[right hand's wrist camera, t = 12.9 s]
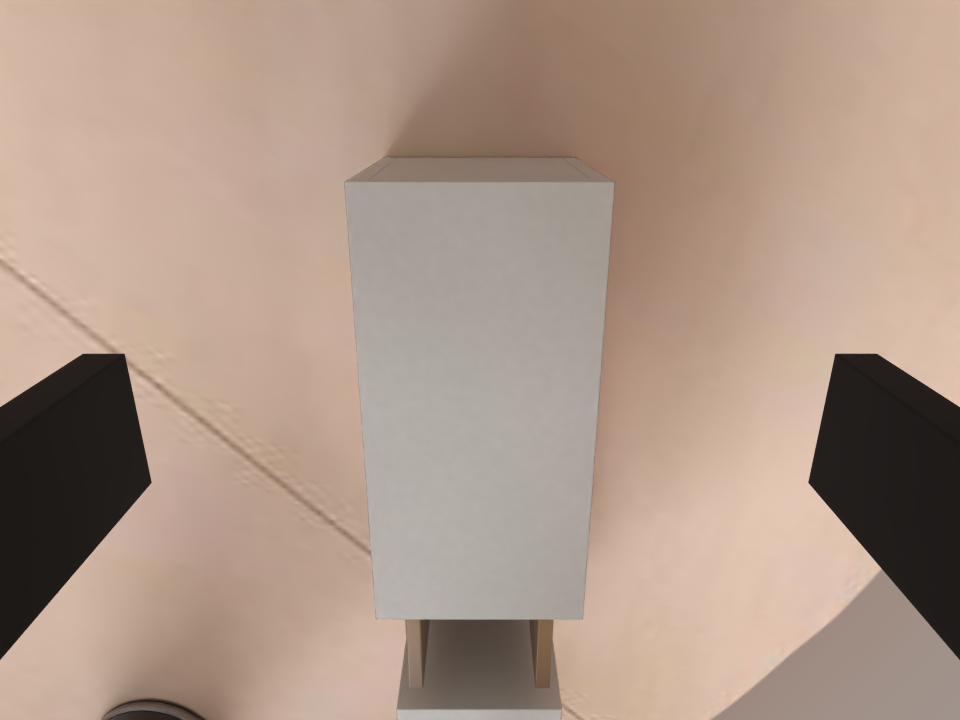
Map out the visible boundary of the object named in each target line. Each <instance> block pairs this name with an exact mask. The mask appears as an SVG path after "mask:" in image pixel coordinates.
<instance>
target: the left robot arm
mask: <svg viewBox="0 0 960 720" xmlns="http://www.w3.org/2000/svg"><path fill="white" fill-rule="evenodd" d="M102 720H200V719H199V718H198V717H196V716H195V715H193V714H192V713H190V712H188V711H186V710H184V709H181V708H179V707H176V706H173V705H169V704H165V703H160V702H134V703H129V704H125V705H122V706H120V707H117V708H115V709H113V710H112V711H110V712H109V713H107V714H106V715H105V716H104V717H103V719H102Z"/></svg>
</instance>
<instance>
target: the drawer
mask: <svg viewBox="0 0 960 720" xmlns="http://www.w3.org/2000/svg"><path fill="white" fill-rule="evenodd" d="M405 620H406V645H405V652H404V659H403V666H402V674H401V681H400V688H399V696H398V703H397V720H561V719H562V705H561V698H560V690H559V683H558V675H557V668H556V660H555V653H554V645H553V638H552V637H553V620H504V619H405Z"/></svg>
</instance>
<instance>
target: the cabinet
mask: <svg viewBox="0 0 960 720" xmlns="http://www.w3.org/2000/svg"><path fill="white" fill-rule="evenodd" d="M344 184H345V198H346V212H347V226H348V239H349V253H350V267H351V281H352V295H353V309H354V323H355V336H356V350H357V364H358V378H359V392H360V406H361V420H362V433H363V447H364V461H365V475H366V489H367V503H368V516H369V530H370V544H371V558H372V572H373V586H374V600H375V613H376V619H504V620H582V619H583V611H584V597H585V584H586V570H587V556H588V543H589V529H590V515H591V502H592V488H593V475H594V461H595V447H596V434H597V420H598V406H599V393H600V379H601V365H602V352H603V338H604V325H605V311H606V297H607V284H608V270H609V256H610V243H611V229H612V215H613V202H614V188H615V182H614V181H612V180H611V179H609V178H607V177H605V176H604V175H602V174H601V173H599V172H598V171H596V170H594V169H593V168H591V167H590V166H588V165H586V164H585V163H583V162H582V161H580V160H579V159H577V158H516V157H384V158H382V159H381V160H379V161H378V162H376V163H374V164H373V165H371V166H370V167H368V168H366V169H365V170H363V171H362V172H360V173H358V174H357V175H355V176H354V177H352V178H350V179H348V180H347V181H345V182H344Z"/></svg>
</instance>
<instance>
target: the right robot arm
mask: <svg viewBox="0 0 960 720" xmlns="http://www.w3.org/2000/svg"><path fill="white" fill-rule="evenodd" d="M151 483H152V482H151V477H150V473H149V468H148V463H147V458H146V454H145V449H144V444H143V439H142V434H141V430H140V425H139V420H138V415H137V411H136V406H135V401H134V396H133V392H132V387H131V382H130V377H129V372H128V368H127V363H126V358H125V354H82V355H80V356H79V357H77V358H76V359H74V360H73V361H71V362H70V363H68V364H67V365H65V366H63V367H62V368H60V369H59V370H57V371H56V372H54V373H53V374H51V375H49V376H48V377H46V378H45V379H43V380H42V381H40V382H39V383H37V384H35V385H34V386H32V387H31V388H29V389H28V390H26V391H25V392H23V393H21V394H20V395H18V396H17V397H15V398H14V399H12V400H11V401H9V402H8V403H6V404H4V405H3V406H1V407H0V660H1V658H2V657H3V656H4V655H5V654H6V653H7V651H8V650H9V649H10V648H11V647H12V645H13V644H14V643H15V642H16V641H17V640H18V638H19V637H20V636H21V635H22V634H23V633H24V631H25V630H26V629H27V628H28V627H29V626H30V624H31V623H32V622H33V621H34V620H35V619H36V617H37V616H38V615H39V614H40V613H41V612H42V610H43V609H44V608H45V607H46V606H47V605H48V603H49V602H50V601H51V600H52V599H53V598H54V596H55V595H56V594H57V593H58V592H59V590H60V589H61V588H62V587H63V586H64V585H65V583H66V582H67V581H68V580H69V579H70V578H71V576H72V575H73V574H74V573H75V572H76V571H77V569H78V568H79V567H80V566H81V565H82V564H83V562H84V561H85V560H86V559H87V558H88V557H89V555H90V554H91V553H92V552H93V551H94V550H95V548H96V547H97V546H98V545H99V544H100V542H101V541H102V540H103V539H104V538H105V537H106V535H107V534H108V533H109V532H110V531H111V530H112V528H113V527H114V526H115V525H116V524H117V523H118V521H119V520H120V519H121V518H122V517H123V516H124V514H125V513H126V512H127V511H128V510H129V509H130V507H131V506H132V505H133V504H134V503H135V502H136V500H137V499H138V498H139V497H140V496H141V494H142V493H143V492H144V491H145V490H146V489H147V487H148V486H149V485H150V484H151ZM808 483H809V484H810V485H811V486H812V487H813V489H814V490H815V491H816V492H817V493H818V494H819V496H820V497H821V498H822V499H823V500H824V502H825V503H826V504H827V505H828V506H829V507H830V509H831V510H832V511H833V512H834V513H835V514H836V516H837V517H838V518H839V519H840V520H841V521H842V523H843V524H844V525H845V526H846V527H847V528H848V530H849V531H850V532H851V533H852V534H853V535H854V537H855V538H856V539H857V540H858V541H859V542H860V544H861V545H862V546H863V547H864V548H865V550H866V551H867V552H868V553H869V554H870V555H871V557H872V558H873V559H874V560H875V561H876V562H877V564H878V565H879V566H880V567H881V568H882V569H883V571H884V572H885V573H886V574H887V575H888V576H889V578H890V579H891V580H892V581H893V582H894V583H895V585H896V586H897V587H898V588H899V589H900V590H901V592H902V593H903V594H904V595H905V596H906V597H907V599H908V600H909V601H910V602H911V603H912V605H913V606H914V607H915V608H916V609H917V610H918V612H919V613H920V614H921V615H922V616H923V617H924V619H925V620H926V621H927V622H928V623H929V624H930V626H931V627H932V628H933V629H934V630H935V631H936V633H937V634H938V635H939V636H940V637H941V638H942V640H943V641H944V642H945V643H946V644H947V645H948V647H949V648H950V649H951V650H952V651H953V653H954V654H955V655H956V656H957V657H958V658H959V660H960V407H959V406H957V405H956V404H954V403H952V402H951V401H949V400H948V399H946V398H945V397H943V396H942V395H940V394H939V393H937V392H935V391H934V390H932V389H931V388H929V387H928V386H926V385H925V384H923V383H921V382H920V381H918V380H917V379H915V378H914V377H912V376H911V375H909V374H907V373H906V372H904V371H903V370H901V369H900V368H898V367H897V366H895V365H893V364H892V363H890V362H889V361H887V360H886V359H884V358H883V357H881V356H880V355H878V354H835V358H834V363H833V368H832V372H831V377H830V382H829V387H828V392H827V396H826V401H825V406H824V411H823V415H822V420H821V425H820V430H819V434H818V439H817V444H816V449H815V454H814V458H813V463H812V468H811V473H810V477H809V482H808Z"/></svg>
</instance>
